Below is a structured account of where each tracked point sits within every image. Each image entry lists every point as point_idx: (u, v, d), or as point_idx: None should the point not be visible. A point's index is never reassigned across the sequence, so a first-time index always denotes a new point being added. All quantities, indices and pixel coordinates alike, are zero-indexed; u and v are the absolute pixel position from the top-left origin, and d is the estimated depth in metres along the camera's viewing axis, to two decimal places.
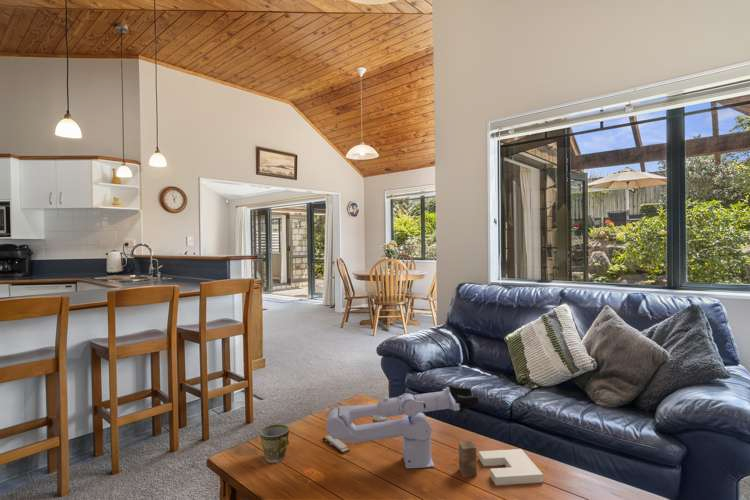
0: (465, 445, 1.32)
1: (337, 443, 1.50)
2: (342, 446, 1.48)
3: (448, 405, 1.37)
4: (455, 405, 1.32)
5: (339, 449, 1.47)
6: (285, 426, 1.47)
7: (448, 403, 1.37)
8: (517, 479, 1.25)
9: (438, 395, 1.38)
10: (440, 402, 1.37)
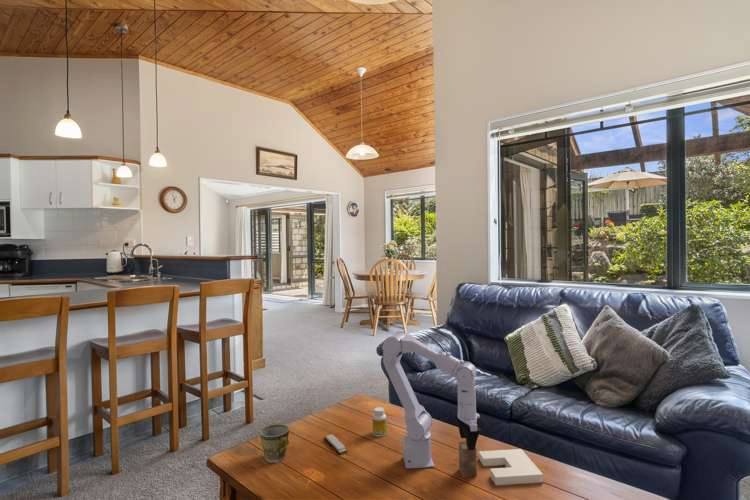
0: (465, 445, 1.32)
1: (336, 443, 1.50)
2: (340, 447, 1.47)
3: (466, 416, 1.29)
4: (476, 427, 1.25)
5: (337, 449, 1.47)
6: (285, 426, 1.47)
7: (469, 417, 1.29)
8: (517, 479, 1.25)
9: (475, 406, 1.31)
10: (470, 408, 1.29)
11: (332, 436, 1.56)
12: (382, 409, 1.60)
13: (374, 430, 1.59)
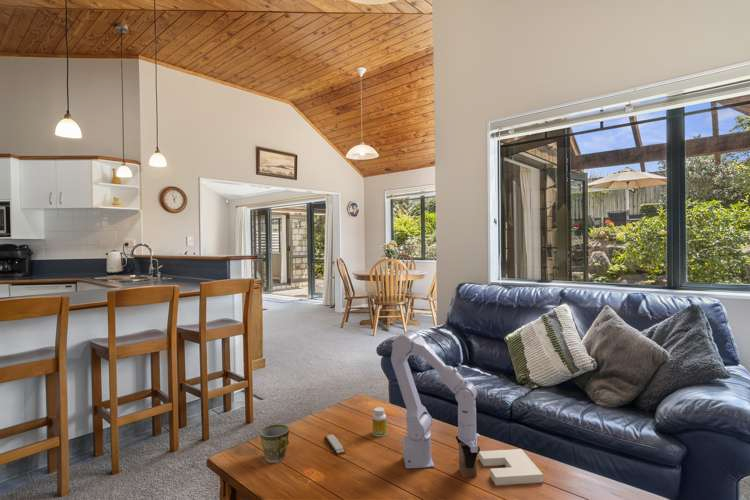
0: (465, 445, 1.32)
1: (335, 444, 1.50)
2: (338, 447, 1.47)
3: (466, 437, 1.29)
4: (476, 448, 1.25)
5: (335, 450, 1.47)
6: (285, 426, 1.47)
7: (469, 437, 1.29)
8: (517, 479, 1.25)
9: None
10: (471, 429, 1.29)
11: (332, 436, 1.56)
12: (382, 409, 1.60)
13: (374, 430, 1.59)
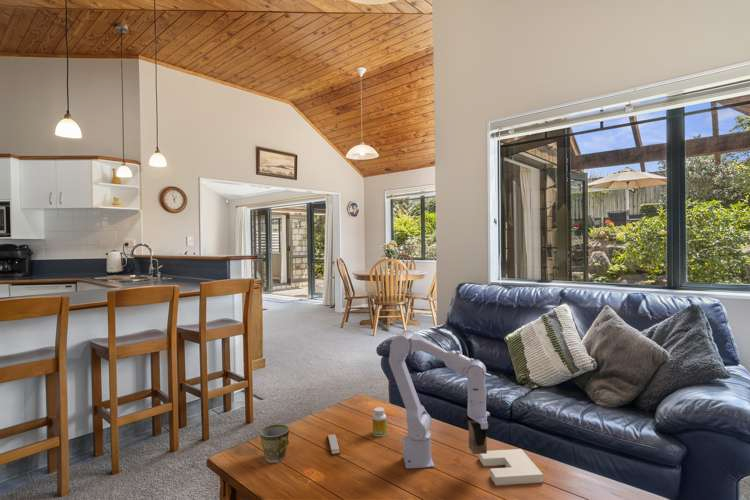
0: None
1: (332, 444, 1.50)
2: (334, 448, 1.47)
3: (476, 414, 1.29)
4: (486, 424, 1.25)
5: (331, 450, 1.46)
6: (285, 426, 1.47)
7: (479, 415, 1.29)
8: (517, 479, 1.25)
9: (485, 404, 1.31)
10: (481, 406, 1.29)
11: (333, 436, 1.56)
12: (382, 409, 1.60)
13: (374, 430, 1.59)
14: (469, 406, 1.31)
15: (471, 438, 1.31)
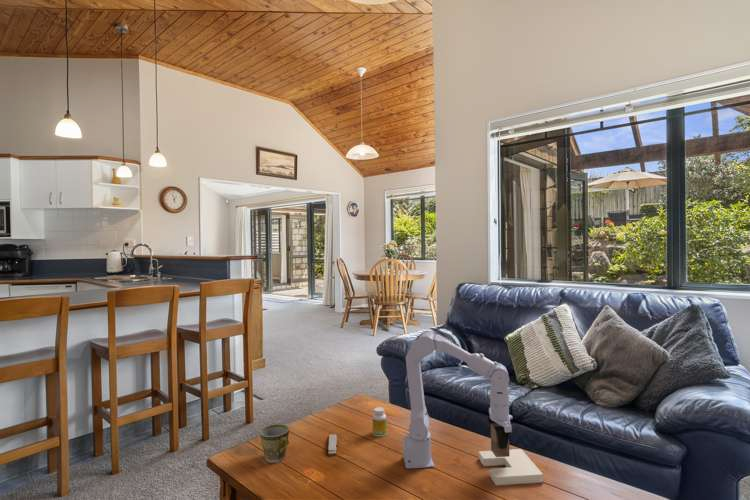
0: None
1: (331, 444, 1.49)
2: (331, 448, 1.46)
3: (499, 418, 1.30)
4: (510, 428, 1.26)
5: (328, 450, 1.46)
6: (285, 426, 1.47)
7: (502, 418, 1.30)
8: (517, 479, 1.25)
9: (508, 407, 1.31)
10: (504, 409, 1.30)
11: (334, 436, 1.56)
12: (382, 409, 1.60)
13: (374, 430, 1.59)
14: (492, 409, 1.32)
15: (494, 441, 1.32)
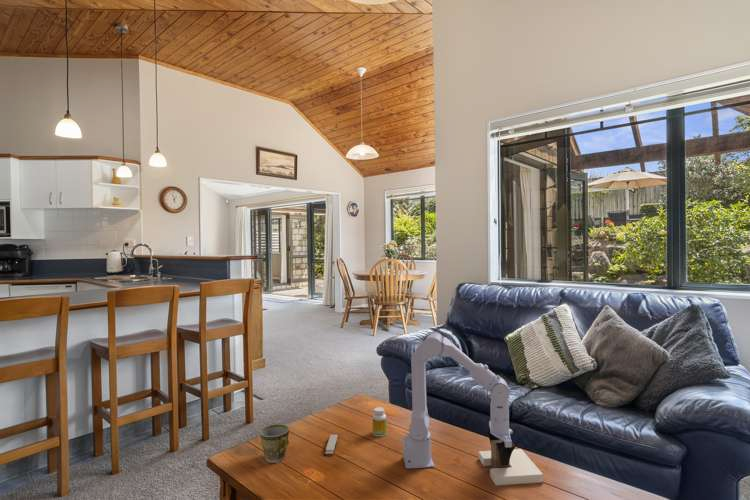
0: None
1: (329, 444, 1.50)
2: (329, 448, 1.46)
3: (500, 432, 1.30)
4: (510, 443, 1.26)
5: None
6: (285, 426, 1.47)
7: (502, 432, 1.30)
8: (517, 479, 1.25)
9: (508, 421, 1.32)
10: (504, 424, 1.30)
11: (335, 436, 1.55)
12: (382, 409, 1.60)
13: (374, 430, 1.59)
14: (492, 423, 1.32)
15: (494, 458, 1.32)
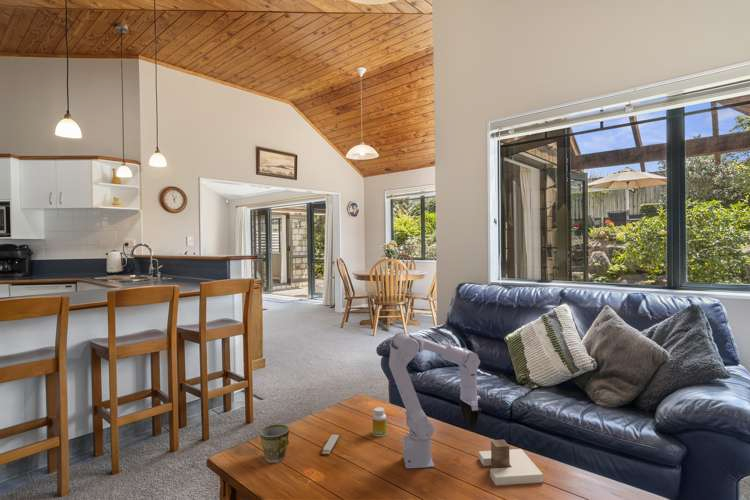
0: (498, 443, 1.32)
1: (328, 444, 1.50)
2: (326, 448, 1.47)
3: (468, 398, 1.42)
4: (477, 406, 1.38)
5: None
6: (285, 426, 1.47)
7: (470, 398, 1.42)
8: (517, 479, 1.25)
9: (476, 388, 1.44)
10: (472, 390, 1.42)
11: (335, 436, 1.55)
12: (382, 409, 1.60)
13: (374, 430, 1.59)
14: (461, 390, 1.44)
15: (494, 458, 1.32)
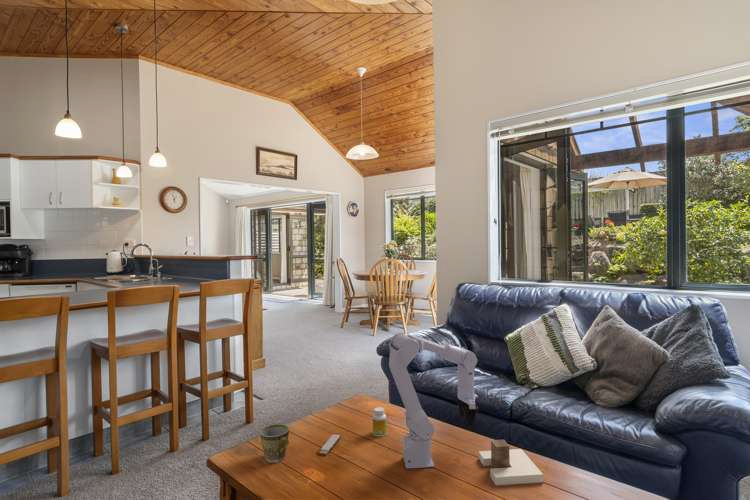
0: (498, 443, 1.32)
1: (327, 444, 1.50)
2: (324, 448, 1.47)
3: (465, 396, 1.43)
4: (474, 405, 1.39)
5: None
6: (285, 426, 1.47)
7: (467, 396, 1.43)
8: (517, 479, 1.25)
9: None
10: (469, 389, 1.43)
11: (335, 436, 1.55)
12: (382, 409, 1.60)
13: (374, 430, 1.59)
14: (459, 389, 1.45)
15: (494, 458, 1.32)
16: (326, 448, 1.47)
